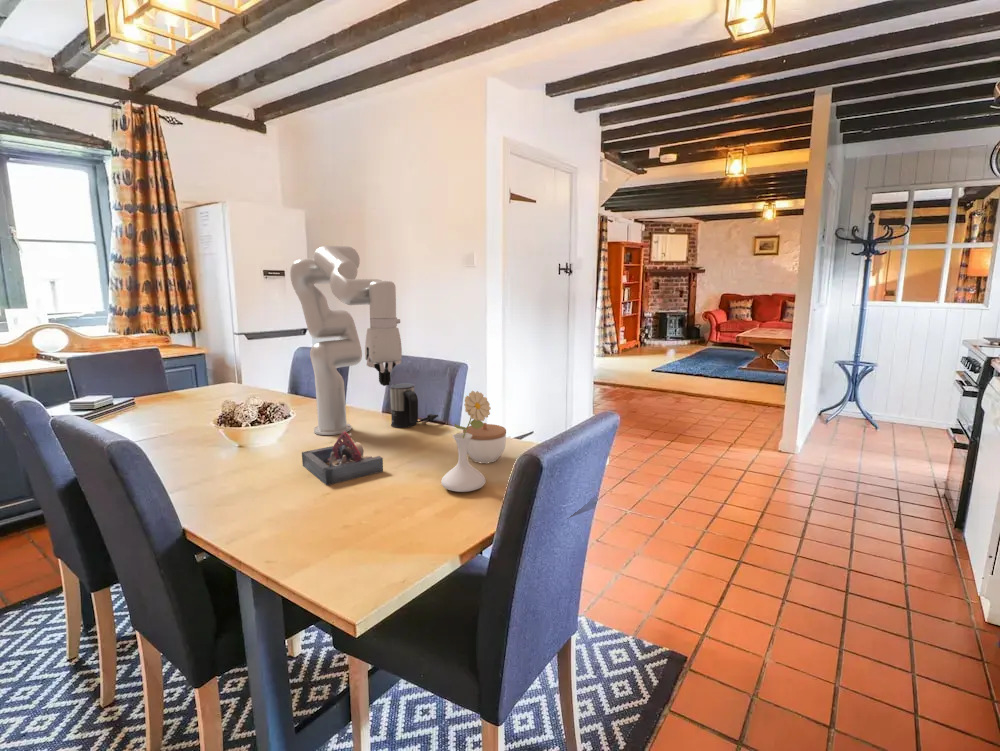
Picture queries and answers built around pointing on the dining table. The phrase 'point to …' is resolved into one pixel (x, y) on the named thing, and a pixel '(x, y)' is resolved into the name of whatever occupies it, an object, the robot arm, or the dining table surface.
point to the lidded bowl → (486, 442)
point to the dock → (338, 466)
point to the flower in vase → (463, 472)
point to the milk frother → (405, 406)
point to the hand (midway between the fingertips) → (384, 384)
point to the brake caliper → (346, 451)
